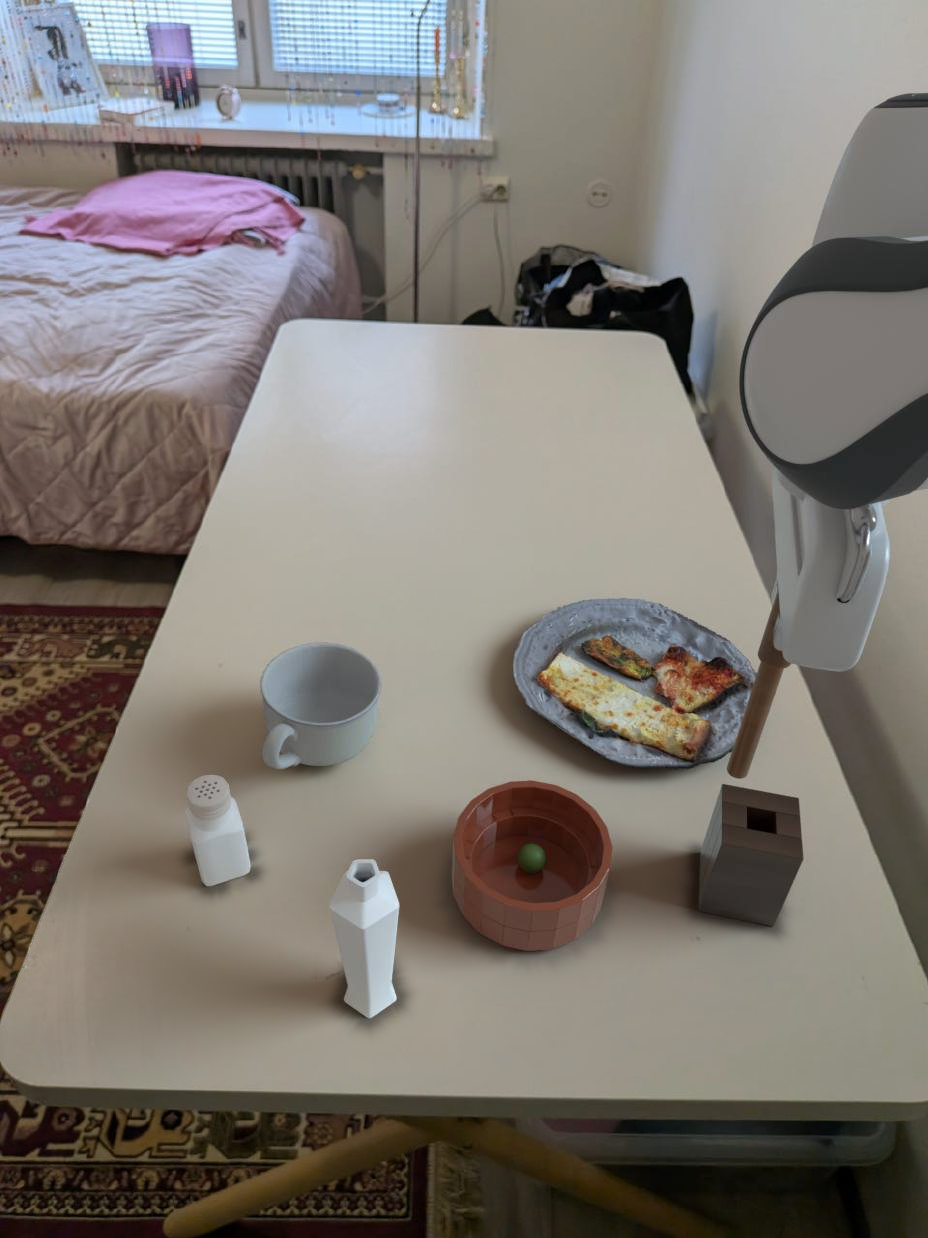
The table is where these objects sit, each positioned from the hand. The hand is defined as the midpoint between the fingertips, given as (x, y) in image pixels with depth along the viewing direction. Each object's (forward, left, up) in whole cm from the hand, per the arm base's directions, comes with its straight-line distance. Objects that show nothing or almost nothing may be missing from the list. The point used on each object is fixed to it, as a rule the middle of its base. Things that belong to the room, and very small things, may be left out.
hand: (785, 626), depth 58 cm
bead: (-1, +14, -27) cm, 30 cm away
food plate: (+23, +7, -29) cm, 38 cm away
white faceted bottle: (-15, +24, -29) cm, 40 cm away
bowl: (-3, +14, -29) cm, 32 cm away
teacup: (+7, +36, -29) cm, 47 cm away
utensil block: (+1, -3, -29) cm, 29 cm away
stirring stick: (0, 0, -14) cm, 14 cm away
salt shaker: (-7, +39, -29) cm, 49 cm away
